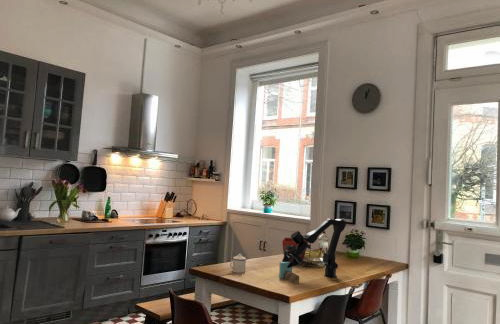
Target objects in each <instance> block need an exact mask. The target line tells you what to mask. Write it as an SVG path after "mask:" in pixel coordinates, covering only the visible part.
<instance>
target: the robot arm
mask: <svg viewBox="0 0 500 324" xmlns="http://www.w3.org/2000/svg"><path fill="white" fill-rule="evenodd" d="M330 226H332V227H333V233H332V236H331V240H330V242H329V244H328V245H329V246H328V250H327V251H326V252H323V255H322V257H321V258H322V262H323V264H324V266H325V268H324V277H328V278H336V277H337V276H338V275H337V269H338V267H339V264H338V263H337V262H336V251H337V246H338V244H339V239H340V237H341V233H342V232H343V231H344V230H345V228H346V226H347V222H346V221H345V220H344V219H340V218H336V219H332V218H326V219H325V220H324V221H323V222H322V223H320V225H319V226H317V227H316V228H314V230H312V231H309V232H307V233H306V234H304V235H302V233H301V232H300V231H299V230H297V231H295V232H293V233H292V234H291V235H290V238H291V239H292V240H293V241H294V242H295V243H296V244H298V245H297V246H296V247H295V246H294V245H292V246H290V245H288V244H287V245H286V247H285V249H287V250H289V251H287V250H285V251H284V252H283V251H282V252H283V258H282V260H281V262H288V261H290V259H292V261H291V262H290V263H289V265H288V266H287V268H290V267H292V268H293V267H295V266H299V265H302V263H303V262H304V259H302V258H301V257H300V255H301V254H302V255H303V252H304V251H305V250H306V251H307V249H309V250H311V249H312V248H311V244H314V243H315V242H317V240H318V239H319V236H320V235H321V234H322V233H324V232H325V231H326V230H327V229H328V228H329V227H330ZM304 240H305V241H306V242H305V241H304ZM307 242H308V243H307Z"/></svg>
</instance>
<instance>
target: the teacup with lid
mask: <svg viewBox="0 0 500 324" xmlns="http://www.w3.org/2000/svg"><path fill="white" fill-rule="evenodd" d="M246 262H247V258H246V257H244V256H243V255H242V254H241V253H238V254H237V255H236V256H233V258H232V260H231V261H230V263H229V267H230V268H231V269H232V272H233V273H237V274H238V273H239V274H240V273H241V274H242V273H243V274H244V273H245V272H246Z"/></svg>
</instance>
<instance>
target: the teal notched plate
mask: <svg viewBox="0 0 500 324" xmlns="http://www.w3.org/2000/svg"><path fill="white" fill-rule="evenodd" d="M289 263H290V262H282V261H280V262H279V269H278V270H279V273H278V278H279V279H285V278H284V274H285V272H286V271H290V272H292V273H293V267H290V268H287V266H288V265H289Z"/></svg>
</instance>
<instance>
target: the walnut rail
mask: <svg viewBox="0 0 500 324" xmlns="http://www.w3.org/2000/svg"><path fill="white" fill-rule="evenodd" d="M283 279H285V280H286V281H288V282H290V283H292V284H293V285H300V275H298V274H296V273H295V272H293V271H292V272H290V271H286V272H285V274H284V278H283Z"/></svg>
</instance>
